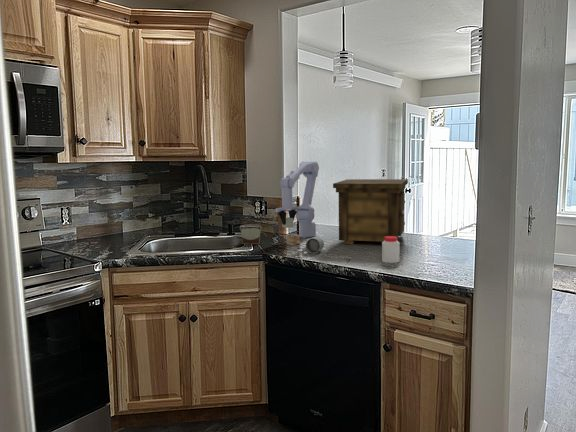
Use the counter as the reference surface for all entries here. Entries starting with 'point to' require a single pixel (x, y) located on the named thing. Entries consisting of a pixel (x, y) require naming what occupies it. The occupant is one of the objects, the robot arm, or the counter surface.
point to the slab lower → (293, 242)
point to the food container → (250, 233)
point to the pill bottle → (390, 249)
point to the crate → (370, 209)
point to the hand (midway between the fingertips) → (287, 224)
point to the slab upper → (293, 237)
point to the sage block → (288, 223)
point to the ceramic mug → (314, 245)
